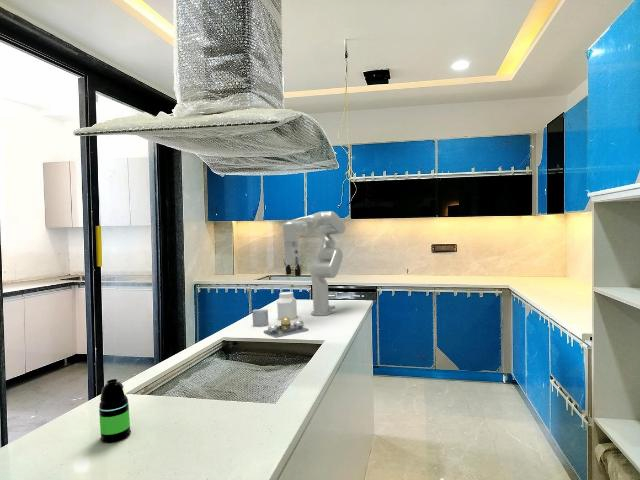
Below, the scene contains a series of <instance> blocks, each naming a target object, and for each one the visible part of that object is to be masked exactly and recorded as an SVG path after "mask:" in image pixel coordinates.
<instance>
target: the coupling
mask: <svg viewBox="0 0 640 480" xmlns="http://www.w3.org/2000/svg"><path fill="white" fill-rule="evenodd" d="M291 324H292V323H291V320H290V317H283V318H281V320H280V326H281V330H282V331H284V330H285V329H290V328H291Z"/></svg>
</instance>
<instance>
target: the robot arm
mask: <svg viewBox="0 0 640 480" xmlns="http://www.w3.org/2000/svg"><path fill="white" fill-rule="evenodd" d="M317 228H319V232H320V236H321V244H320V247H319V248H318V249H319V250H318V253H317V257H316V259H317V261H315V262H313V263H312V264H311V265H310V267H309V273H310V277H311V286H312V303H313V304H312V305H313V307H312V308H313V310H312V311H311V313H310V314H311V315H312V316H322V317H323V316H328V315H331V314H332V313H333V312H332V310H334V309H336V305H330V301H329V284H328V282H327V280H326V279H333V278H335V277H337V276H338V273H339V270H340V268H341V264H342V262H343V251H342V249H341V248H339V247H336V246H335V245H336V241H335V240H334V238H333V237H332V236H333V235H342V234H344V232H345V231H346V224H345V223H344V221H343V219H342V218H341V217H340V216H339V215H338V213H336V212H334V211H332V210H329V211H328V210H327V211H318V212H315V213H313V214H310V215H306V216H305V215H304V216H302V217H297V218H294V219H291V220H287V221H285V222H284V223H282V233H283V246H284V247H283V248H284V258H283V264H284V268H285V275H286V276H290V275H292V267H291V266H294V268H295V269H294V276H295V277H300V276H302V274H301V267H302V263H303V262H302V260H301V253H300V248H299V242H298V241H299V240H298V235H304V234H306V233H307V232H308V231H310V230H316V229H317Z"/></svg>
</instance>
